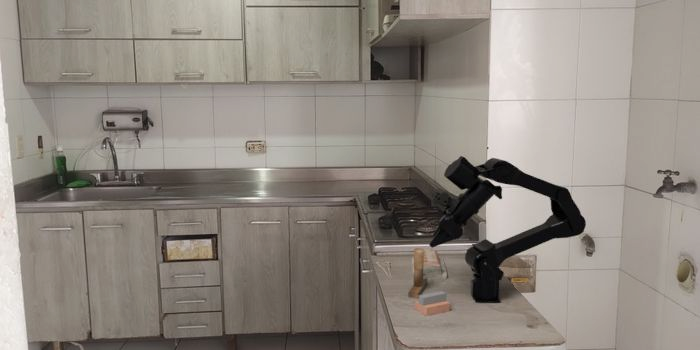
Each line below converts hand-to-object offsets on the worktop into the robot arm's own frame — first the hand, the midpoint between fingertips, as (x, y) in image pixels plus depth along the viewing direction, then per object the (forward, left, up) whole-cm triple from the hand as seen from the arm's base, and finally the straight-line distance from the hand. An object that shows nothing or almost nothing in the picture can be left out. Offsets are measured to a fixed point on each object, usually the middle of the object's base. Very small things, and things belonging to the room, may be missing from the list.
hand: (432, 241), depth 150 cm
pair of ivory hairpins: (+11, -20, -15) cm, 27 cm away
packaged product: (-2, -22, -15) cm, 27 cm away
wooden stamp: (+3, -3, -15) cm, 15 cm away
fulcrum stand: (+1, +11, -15) cm, 18 cm away
